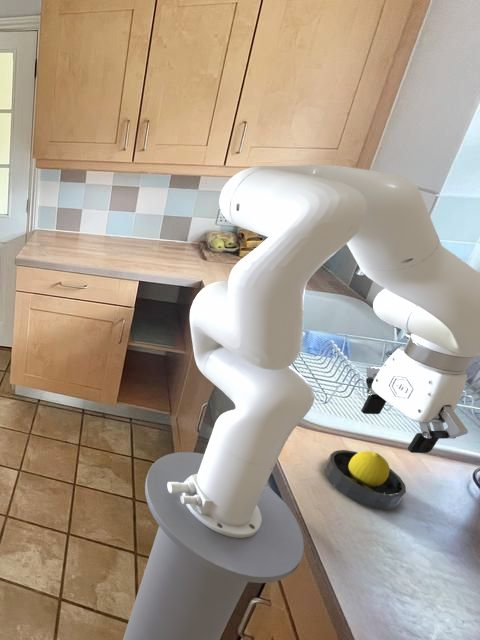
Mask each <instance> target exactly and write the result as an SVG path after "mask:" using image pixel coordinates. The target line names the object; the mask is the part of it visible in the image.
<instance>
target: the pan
mask: <svg viewBox="0 0 480 640" xmlns="http://www.w3.org/2000/svg"><path fill="white" fill-rule="evenodd" d="M357 453H359V452H357V451H354V450H348V449H339V450H333V452H332V453H330V455H329V456H328V458H327V460H326V462H325V464H324V467H323V473H324V476H325V477H326V479H327V481H328V482H329V484H331V486H333V488H335V489H336V490H337V491H338V492H339V493H341V494H343V495H344V496H345V497H347V498H349V499H350V500H352V501H354V502H356V503H358V504H361V505H362V506H365V507H368V508H371V509H375V510H381V511H388V510H392V509H395V508H397V506H398V505H399V503H400V502H401V501H402V499H403V498H404V496H405V495H406V493H407V488H406V487H407V486H406V484H405V482H404V481H403V479H402V478H401V476H399V475H398V474H397V473H396V472H395V471H394V470H392V468H390V467H389V476H388V478H387V480H386V481H385V482H384V483H383V484H381V485H379V486H375V487H369V486H365V485H361V484H359V483H358V482H357V481H356V480H354V479H353V477H352V476H351V475H350V472H349V468H348V466H349V462H350V460H351V459H352V457H353V456H354V455H355V454H357Z"/></svg>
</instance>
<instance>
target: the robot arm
mask: <svg viewBox="0 0 480 640" xmlns="http://www.w3.org/2000/svg"><path fill="white" fill-rule="evenodd" d="M218 200H219V201H218V202H219V203H218V204H219V209H220V213H221V214H222V216H223V217H224V218H225V219H226V220H227V222H229V223H231V224H232V225H234V226H236V227H238V228H242V229H243V230H248V231H251V232H252V233H254V234H255V233H256V234H258V235H261V236H263V237H266V239H265V240H263V241H262V242H261V243H259V245H257V246H256V247H255V248H254V249H252V250H251V251H250V252H249V253H247V254H246V255H245V256H243V257H242V258H241V259H240V260H238V261H237V262H236V264H235V265H234V266H233V267H232V269H231V271H230V273H229V276H228V280H219V281H214V282H212V283H209V284H208V285H205V286H204V287H203V288H201V290H200V291H199V292H198V293H197V295H196V296H195V298H194V299H193V300H192V303H191V306H190V309H189V326H190V327H189V328H190V335H191V341H192V349H193V355H194V361H195V364H196V366H197V368H198V370H199V372H201V374H202V375H203V376H204V377H205V379H207V380H209V381H210V382H211V383H212V384H213V385H215V386H216V387H217V388H218V389H219V390H220V391H221V392H222V393H224V395H225V396H227V398H229V399H230V400H231V401H232V403H233V404H234V406H235V408H234V409H231V410H227V411H225V412H223V413H221V414H220V415H219V417H218V418H217V419H216V420H215V423H214V426H213V428H212V431H211V435H210V437H209V440H208V443H207V446H206V448H205V452H204V453H203V454H204V457H203V460H202V463H201V466H200V469H199V471H198V474H195V475H191V476H190V477H189V478H187V479H186V481H184V483H179V482H168V483H167V488H168V491H169V492H170V493H182V495H183V496H182V495H181V497H180V499H181V503H182V504H186V506H187V507H188V509H189V510H190V511H191V513H192V514H193V515H194V516H195V517H196V518H197V519H198V520H199V521H200V522H202V523H203V524H204V525H206V526H207V527H209V528H210V529H212V530H214V531H216V532H218V533H220V534H223V535H226V536H230V537H235V538H246V537H250V536H252V535H254V534H255V533H256V532H257V531H258V530H259V528H260V526H261V522H262V519H261V513H260V510H259V508H258V506H257V503H258V501H259V499H260V497H261V495H262V492H263V490H264V488H265V486H266V485H268V484H267V483H268V482H269V479H270V477H271V475H272V473H273V471H274V468H275V466H276V464H277V462H278V459H279V458H280V455H281V453H282V451H283V449H284V447H285V444H286V443H287V441H288V440H289V438H290V436H291V435H292V433H293V431H294V430H295V429H296V427H297V426H298V424H300V423H301V421H302V420H304V418H305V417H306V416H307V414H308V413H309V412H310V411H311V409H312V407H313V405H314V403H315V391H314V390H313V387H312V386H311V384H310V383H309V381H308V380H307V379H306V377H304V376H303V375H302V374H301V373H300V372H299V371H298V370H297V369H295V368H293V367H292V366H291V365H293V364H294V363H295V361H296V360H297V359H298V357H299V356H300V354H301V350H302V346H303V338H304V337H303V336H304V312H305V311H304V309H305V307H304V306H305V292H306V287H307V284H308V282H309V280H310V279H311V278H312V277H313V275H314V274H315V273H316V272H317V271H318V270H319V269H320V268H321V267H322V266H323V265H324V264H325V263H326V262H327V261H328V260H330V258H332V257H333V256H334V255H335V254H336V253H337V252H339V250H341V249H342V248H343V247H344V246H346V245H347V247H348V249H349V251H350V253H351V254H352V256H353V258H354V260H355V262H356V263H357V265H358V267H359V269H360V271H361V273H362V274H364V275H365V276H366V277H367V278H368V279H369V280H371V281H373V282H374V283H376V284H377V285H378V286H380V287H381V288H383V289H381V291H380V292H378V293H377V295H376V296H375V298H374V300H373V303H372V309H373V312H374V314H375V315H376V316H377V317H378V318H379V319H380V320H382V321H383V322H385V323H387V324H388V325H390V326H392V327H395V328H397V329H399V330H402V331H404V332H406V334H405V335H404V339H405V340H406V341H407V342H406V343H405V346H399V347H398V348H397V349H396V350H395V351H394V352H392V354H391V355H390V356H389V357H388V358H387V359H386V360H385V362H384V363H383V365H382V366H381V367H379V366H367V367H366V377H367V378H366V379H365V382H366V386H367V389H366V394H367V395H368V396H367V397H366V399H365V401H364V404H363V405H362V407H361V410H360V412H361V413H362V414H364V415H380V414H381V413H382V411H383V408H384V407H385V405H386V403H388V404H389V405H390V406H392V407H393V408H394V409H396V410H397V411H399V412H400V413H401V414H403V415H404V416H405V417H407V418H408V419H410V420H411V421H413V422H415V423H419V427H420V432H417V433H416V434H415V435H414V437H413V439H412V440H411V441H410V443H409V445H408V446H407V451H408V452H409V453H411V454H412V453H413V454H428V453H430V452H432V450H433V448H434V447H435V446H436V444H437V442H438V441H439V439H449V440H450V439H451V440H452V439H456V438H458V437H462V436H464V435H467V434H468V433H469V430H468V429H467V427H466V426H465V425H464V423H463V422H462V421H461V419H460V418H459V416H458V415H457V413H456V412H455V410H456V408H457V406H458V405H459V402H460V400H461V398H462V395H463V393H464V390H465V387H466V384H467V379H468V373H466V371H467V369H468V367H469V366H470V365H471V363H472V361H473V360H474V358H475V357H478V356H479V357H480V272H479V271H477V270H475V269H474V268H473V267H472V266H471V265H469V264H468V263H467V262H466V261H464V260H463V259H462V258H460V257H459V256H457V255H456V254H454V253H453V252H452V251H450V250H449V249H447V248H446V247H445V246H443V245H442V243H441V240H440V238H439V235H438V233H437V231H436V227H435V225H434V223H433V220H432V218H431V215H430V212H429V210H428V208H427V207H428V206H427V205H426V203H425V200H424V198H423V195H422V192H421V191H420V189H419V188H418V186H417V185H416V184H415V183H414V181H413V182H412V181H411V180H410V179H408V178H406V177H404V176H401V175H398V174H394V173H391V172H390V173H389V172H385V171H378V170H373V169H372V170H371V169H364V168H358V167H350V166H344V165H337V164H336V165H335V164H301V165H300V164H299V165H295V164H294V165H258V166H251V167H248V168H245V169H243V170H241V171H239V172H238V173H236V174H234V175H233V176H232V177H231V178H230V179H229V180H228V181H227V182H226V183H225V185H224V186H223V188H222V189H221V192H220V195H219V199H218ZM430 423H431V424H432V427H433V430H432V428H431V424H430ZM444 423H445V424H446V425H447V428H445V426H444Z"/></svg>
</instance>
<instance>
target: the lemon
mask: <svg viewBox="0 0 480 640" xmlns="http://www.w3.org/2000/svg"><path fill="white" fill-rule="evenodd" d="M348 468H349V472H350V475H351V476H352V477H353V479H354V480H356V481H357V482H358V483H359V484H361V485H365V486H369V487H375V486H379V485H381V484H383V483H384V482H385V481H386V480H387V478H388V476H389V468H390V465H389V463H388V461H387V460H386V459H385V458H384V457H383V456H382V455H381V454H379V453H377V452H374V451H370V450H369V451H368V450H362V451H359V452H358V453H357V454H355V455H354V456H353V457H352V459H351V460H350V462H349V466H348Z"/></svg>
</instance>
